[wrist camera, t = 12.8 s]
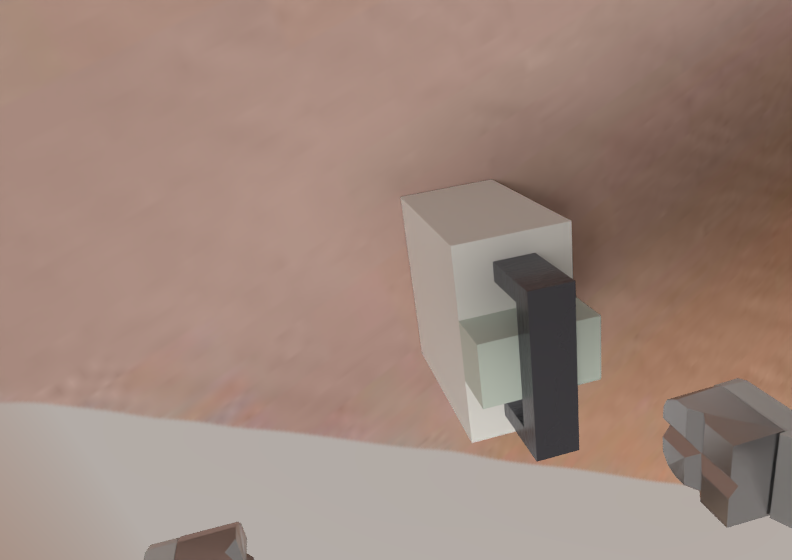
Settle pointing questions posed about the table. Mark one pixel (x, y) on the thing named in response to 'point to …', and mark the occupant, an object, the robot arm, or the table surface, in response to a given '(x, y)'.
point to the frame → (543, 354)
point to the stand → (483, 294)
